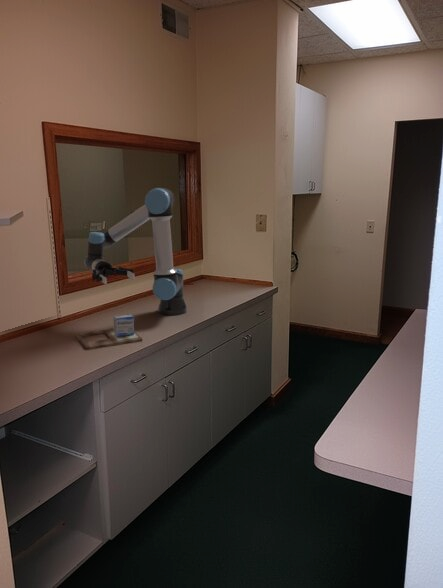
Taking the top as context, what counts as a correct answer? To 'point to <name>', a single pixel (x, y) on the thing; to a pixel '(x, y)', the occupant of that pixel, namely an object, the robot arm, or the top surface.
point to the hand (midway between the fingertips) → (120, 279)
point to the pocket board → (106, 342)
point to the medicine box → (123, 325)
